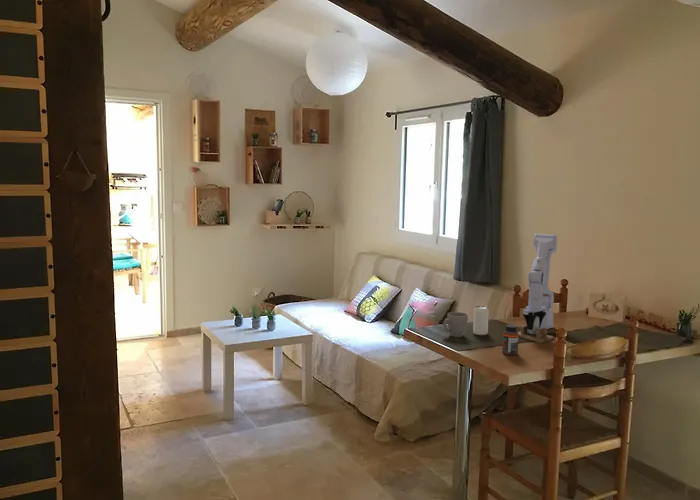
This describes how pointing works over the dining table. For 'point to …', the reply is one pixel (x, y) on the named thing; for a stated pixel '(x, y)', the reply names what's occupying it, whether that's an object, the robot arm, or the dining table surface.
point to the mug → (456, 323)
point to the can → (480, 320)
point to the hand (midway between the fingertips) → (533, 328)
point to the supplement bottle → (510, 340)
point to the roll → (534, 326)
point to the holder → (535, 335)
